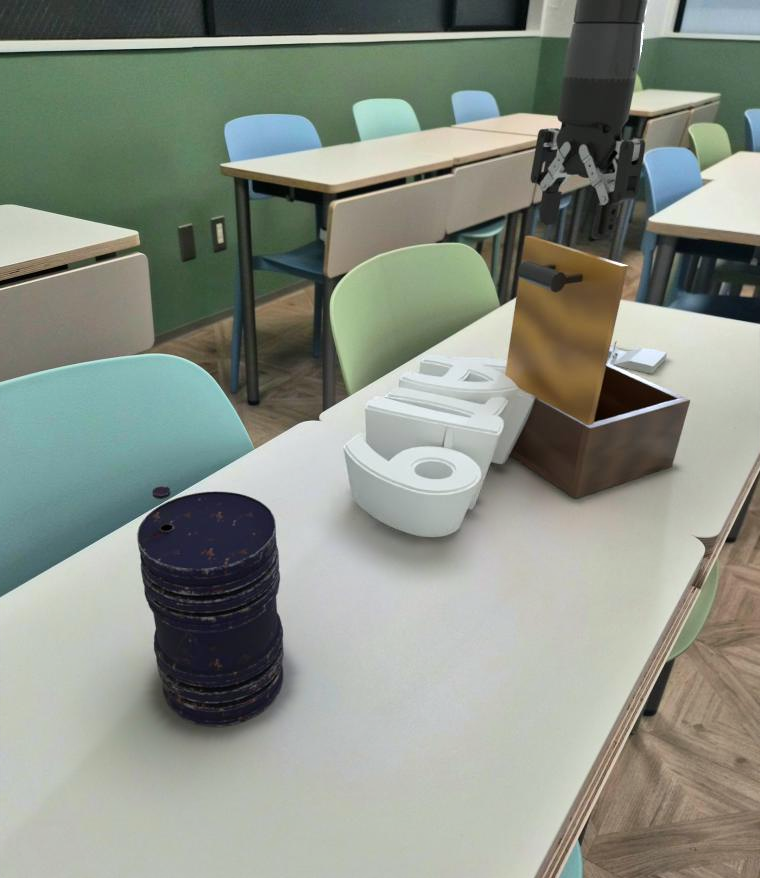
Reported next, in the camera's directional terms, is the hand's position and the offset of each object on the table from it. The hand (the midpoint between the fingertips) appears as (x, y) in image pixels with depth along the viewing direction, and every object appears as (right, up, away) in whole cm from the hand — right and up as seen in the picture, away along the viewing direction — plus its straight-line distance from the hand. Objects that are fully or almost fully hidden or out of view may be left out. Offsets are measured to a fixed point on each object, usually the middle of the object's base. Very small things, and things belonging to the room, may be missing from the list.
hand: (573, 230), depth 86 cm
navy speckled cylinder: (-37, -46, -27) cm, 65 cm away
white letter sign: (-15, -29, +1) cm, 32 cm away
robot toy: (+19, -9, +35) cm, 40 cm away
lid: (-3, -13, -7) cm, 15 cm away
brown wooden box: (+3, -26, +6) cm, 27 cm away
